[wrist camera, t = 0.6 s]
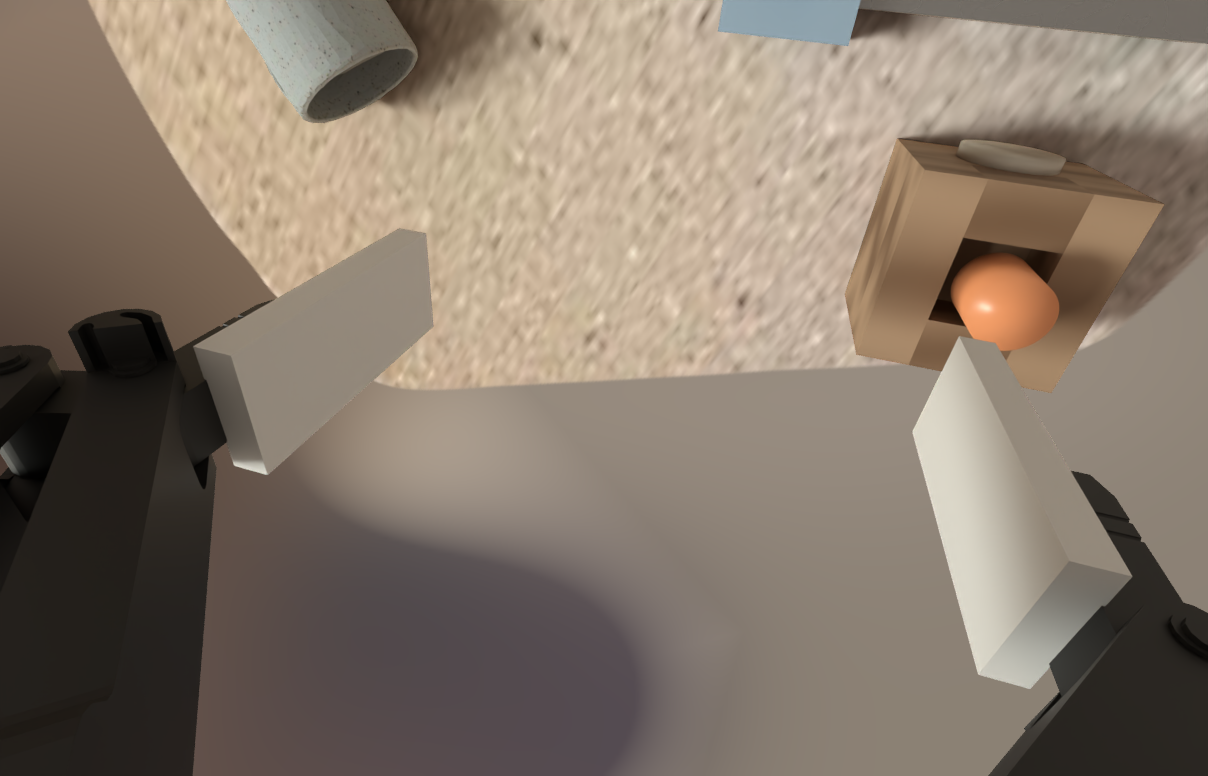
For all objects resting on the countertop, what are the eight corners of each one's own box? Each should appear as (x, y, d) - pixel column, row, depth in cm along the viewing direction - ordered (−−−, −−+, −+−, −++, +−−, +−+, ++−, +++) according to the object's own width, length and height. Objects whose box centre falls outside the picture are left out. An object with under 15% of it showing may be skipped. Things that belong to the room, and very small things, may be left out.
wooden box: (901, 126, 31) (930, 155, 25) (1089, 151, 30) (1173, 188, 23) (844, 294, 37) (856, 354, 30) (1002, 322, 35) (1051, 393, 28)
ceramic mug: (349, -99, 33) (241, -125, 26) (442, 44, 35) (363, 51, 29) (251, 27, 38) (142, 30, 32) (339, 144, 40) (254, 168, 34)
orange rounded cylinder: (967, 246, 26) (987, 272, 24) (1046, 259, 26) (1075, 286, 23) (939, 312, 28) (954, 342, 25) (1012, 325, 28) (1035, 357, 25)
